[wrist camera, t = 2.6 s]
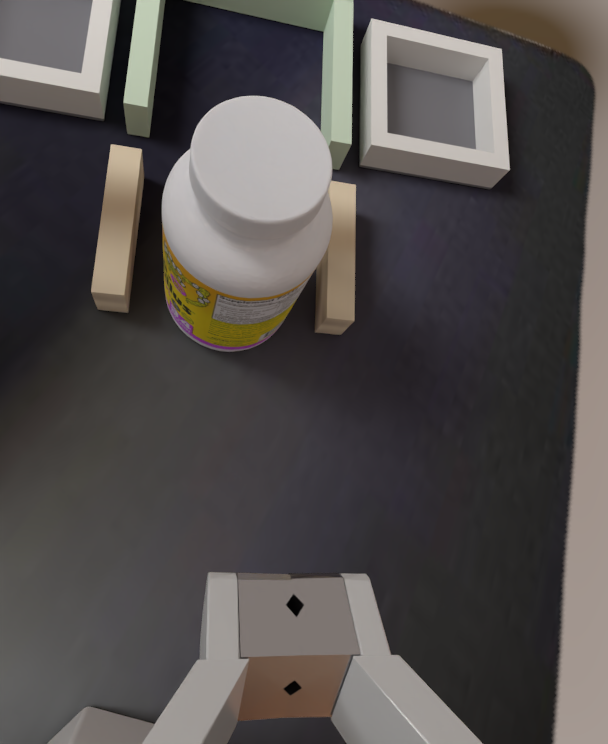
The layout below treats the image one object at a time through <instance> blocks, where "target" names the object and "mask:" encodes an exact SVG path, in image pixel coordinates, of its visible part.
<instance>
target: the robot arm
mask: <svg viewBox="0 0 608 744" xmlns="http://www.w3.org/2000/svg"><path fill="white" fill-rule="evenodd" d="M290 717H331V721H332V722H333V724H334V725H335V727H336V728H337V730H338V731H339V733H340V734H341V736H342V737H343V739H344V740H345V742H346V743H347V744H483V743H482V742H481V741H480V740H479V739H478V738H477V737H476V736H475V735H474V734H473V733H472V732H471V731H470V730H469V729H468V728H467V726H466V725H465V724H464V723H463V722H462V721H461V720H460V719H459V718H458V717H457V716H456V715H455V714H454V713H453V712H452V711H451V710H450V708H449V707H448V706H447V705H446V704H445V703H444V702H443V701H442V700H441V699H440V698H439V697H438V696H437V695H436V694H435V693H434V692H433V690H432V689H431V688H430V687H429V686H428V685H427V684H426V683H425V682H424V681H423V680H422V679H421V678H420V677H419V676H418V675H417V674H416V672H415V671H414V670H413V669H412V668H411V667H410V666H409V665H408V664H407V663H406V662H405V661H404V660H403V659H402V658H401V657H400V656H399V655H391V652H390V649H389V645H388V641H387V638H386V634H385V631H384V627H383V624H382V620H381V617H380V613H379V610H378V606H377V603H376V599H375V596H374V592H373V589H372V585H371V581H370V578H369V577H368V576H367V574H339V573H288V574H262V573H227V572H209V573H208V574H207V582H206V590H205V598H204V606H203V615H202V627H201V638H200V660H197V661H196V663H195V664H194V666H193V667H192V669H191V670H190V672H189V673H188V675H187V676H186V678H185V679H184V681H183V682H182V684H181V685H180V687H179V688H178V690H177V691H176V693H175V694H174V696H173V697H172V699H171V700H170V702H169V703H168V705H167V706H166V708H165V709H164V711H163V712H162V714H161V715H160V717H159V718H158V720H157V721H156V723H155V724H154V726H153V727H152V729H151V730H150V732H149V733H148V735H147V736H146V738H145V739H144V741H143V742H142V744H227V743H228V741H229V739H230V737H231V735H232V733H233V731H234V729H235V727H236V725H237V721H246V720H259V719H272V718H290Z"/></svg>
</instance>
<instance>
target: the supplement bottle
mask: <svg viewBox="0 0 608 744" xmlns="http://www.w3.org/2000/svg"><path fill="white" fill-rule="evenodd" d="M331 178H332V158H331V154H330V150H329V147H328V144H327V142H326V140H325V138H324V136H323V134H322V133H321V131H320V130H319V129H318V127H317V126H316V125H315V124H314V123H313V121H311V120H310V119H309V118H308V117H307V116H306V115H305V114H303V113H302V112H301V111H299V110H298V109H297V108H295V107H294V106H292V105H289V104H287V103H285V102H283V101H280V100H277V99H274V98H269V97H264V96H243V97H238V98H234V99H230V100H227V101H225V102H222V103H220V104H218V105H217V106H215V107H214V108H212V109H211V110H210V111H209V112H208V113H207V114H206V115H205V116H204V117H203V118H202V119H201V121H200V122H199V124H198V125H197V127H196V130H195V132H194V135H193V137H192V142H191V148H190V149H189V150H188V151H187V152H186V153H185V154H184V155H183V156H182V157H181V158H180V159H179V160H178V161H177V163H176V164H175V165H174V167H173V169H172V170H171V172H170V174H169V176H168V178H167V181H166V184H165V187H164V192H163V196H162V232H163V262H164V263H163V267H164V287H165V296H166V302H167V306H168V309H169V311H170V314H171V316H172V318H173V320H174V321H175V323H176V324H177V325H178V327H179V328H180V329H181V330H182V331H183V332H184V333H185V334H186V335H187V336H188V337H190V338H191V339H192V340H194V341H195V342H197V343H199V344H200V345H203V346H205V347H207V348H210V349H214V350H218V351H225V352H234V351H241V350H246V349H250V348H253V347H255V346H257V345H259V344H261V343H263V342H264V341H266V340H267V339H269V338H270V337H271V336H272V335H273V334H274V333H275V332H276V331H277V330H278V328H279V327H280V326H281V324H282V323H283V322H284V320H285V318H286V317H287V315H288V313H289V312H290V310H291V308H292V307H293V305H294V303H295V302H296V300H297V298H298V297H299V295H300V293H301V292H302V290H303V288H304V287H305V285H306V283H307V282H308V280H309V279H310V277H311V275H312V274H313V272H314V271H315V269H316V268H317V266H318V265H319V263H320V261H321V259H322V258H323V256H324V254H325V252H326V250H327V247H328V244H329V241H330V237H331V232H332V223H333V215H332V207H331V201H330V197H329V194H328V189H329V186H330V183H331Z"/></svg>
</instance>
